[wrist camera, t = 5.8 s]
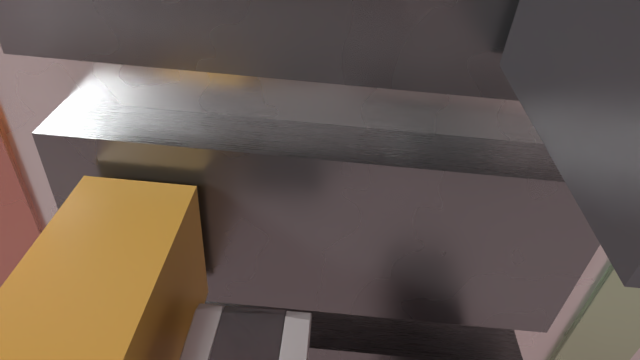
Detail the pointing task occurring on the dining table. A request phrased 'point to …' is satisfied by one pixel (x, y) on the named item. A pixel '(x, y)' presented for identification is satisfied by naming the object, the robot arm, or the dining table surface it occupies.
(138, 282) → the breaker
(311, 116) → the panel
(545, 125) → the breaker
